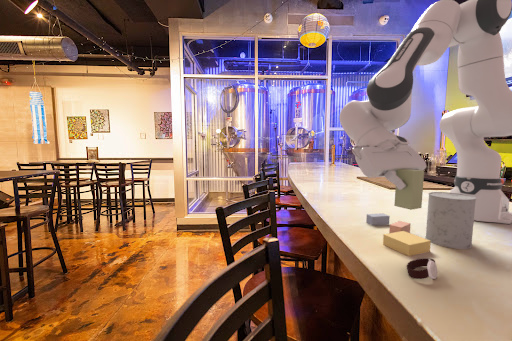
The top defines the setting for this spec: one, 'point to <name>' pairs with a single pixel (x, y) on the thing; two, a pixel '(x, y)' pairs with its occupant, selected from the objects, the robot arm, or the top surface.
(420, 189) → the olive brick
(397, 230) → the terracotta brick
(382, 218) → the slate brick
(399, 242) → the ochre slab
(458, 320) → the top surface
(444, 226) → the speckled grey cylinder
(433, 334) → the top surface
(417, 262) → the watch
